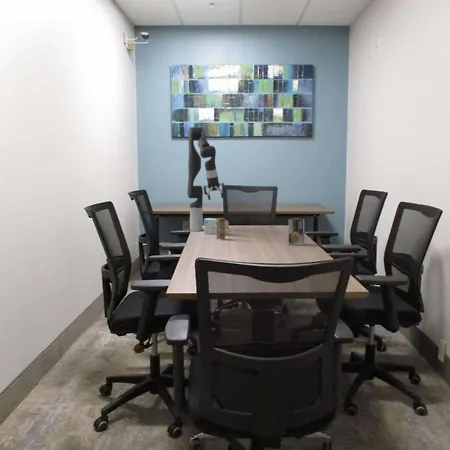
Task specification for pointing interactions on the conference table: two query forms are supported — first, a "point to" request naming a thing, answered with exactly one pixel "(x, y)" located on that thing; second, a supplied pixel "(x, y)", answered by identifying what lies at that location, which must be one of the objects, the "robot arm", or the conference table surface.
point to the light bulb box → (210, 226)
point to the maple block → (226, 227)
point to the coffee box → (296, 231)
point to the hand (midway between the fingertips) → (216, 198)
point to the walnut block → (220, 228)
